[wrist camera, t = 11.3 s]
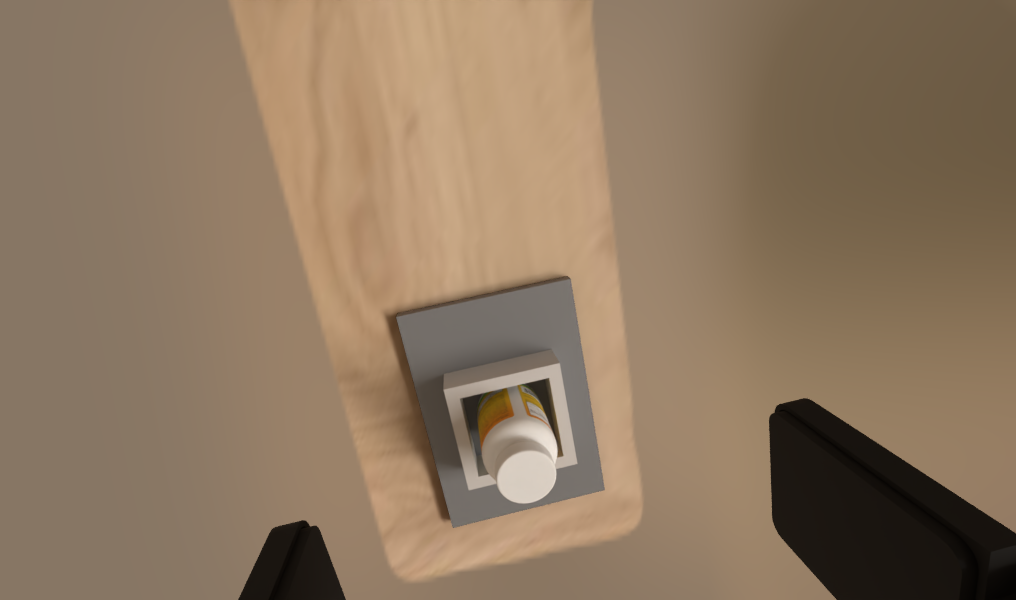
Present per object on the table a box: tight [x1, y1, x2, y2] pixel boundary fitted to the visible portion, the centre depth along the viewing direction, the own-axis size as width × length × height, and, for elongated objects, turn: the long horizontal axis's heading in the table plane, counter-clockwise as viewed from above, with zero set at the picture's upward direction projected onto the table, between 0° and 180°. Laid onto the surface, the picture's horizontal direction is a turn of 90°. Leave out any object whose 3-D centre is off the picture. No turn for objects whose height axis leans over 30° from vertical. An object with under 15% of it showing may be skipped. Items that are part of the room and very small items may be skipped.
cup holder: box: [396, 276, 605, 528], centre depth 40 cm, size 20×14×4 cm
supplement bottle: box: [477, 384, 558, 504], centre depth 36 cm, size 5×5×10 cm
